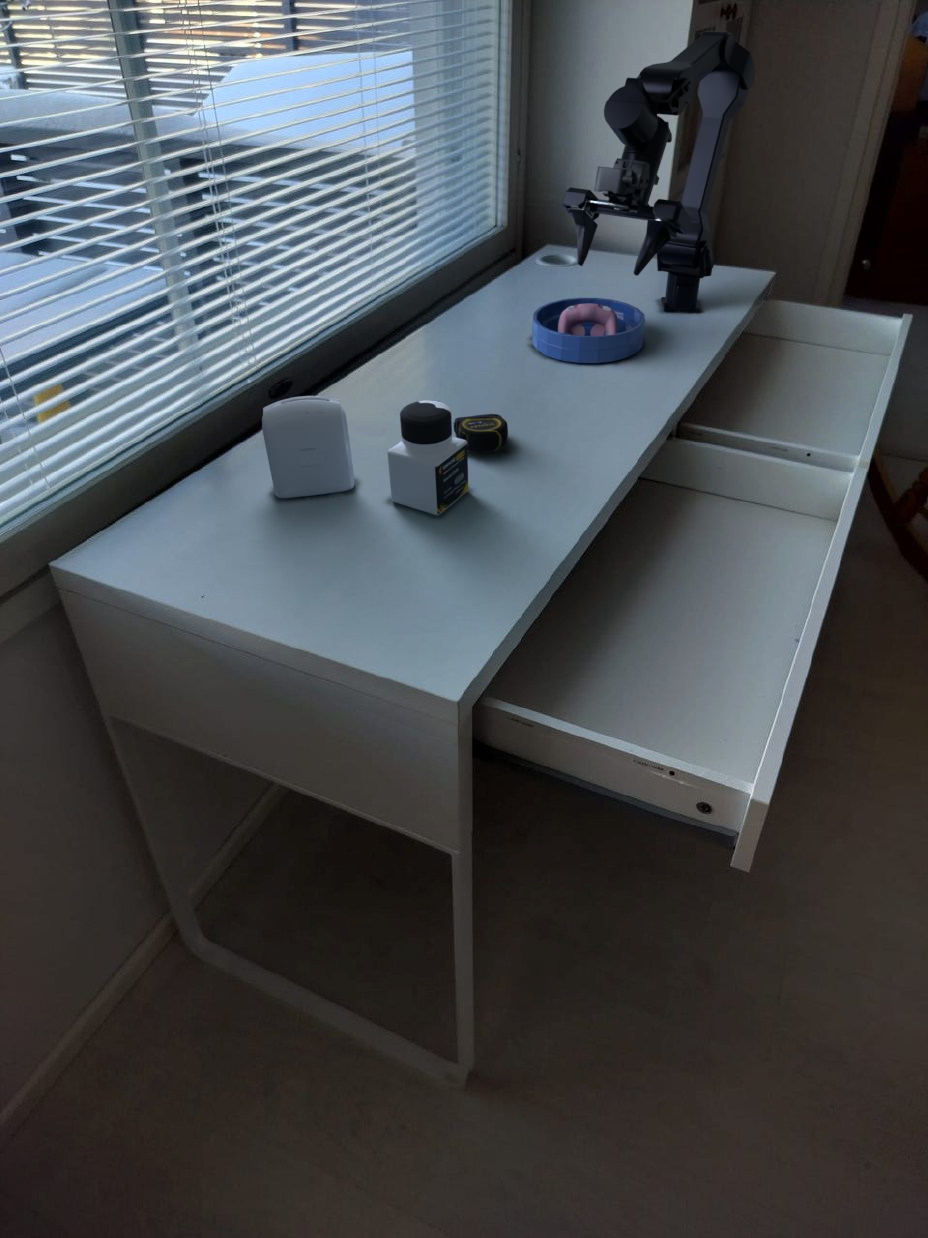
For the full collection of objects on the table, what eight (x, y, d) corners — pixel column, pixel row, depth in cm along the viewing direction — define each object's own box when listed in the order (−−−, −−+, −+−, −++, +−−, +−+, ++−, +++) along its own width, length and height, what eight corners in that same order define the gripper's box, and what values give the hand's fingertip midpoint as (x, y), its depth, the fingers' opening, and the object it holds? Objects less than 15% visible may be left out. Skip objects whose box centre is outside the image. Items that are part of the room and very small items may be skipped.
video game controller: (616, 348, 149) (618, 304, 148) (617, 345, 145) (620, 300, 144) (557, 347, 150) (558, 304, 149) (557, 345, 146) (559, 300, 144)
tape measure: (501, 433, 124) (501, 408, 121) (512, 455, 118) (513, 430, 116) (453, 438, 123) (452, 413, 121) (462, 461, 118) (461, 435, 115)
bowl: (534, 322, 156) (535, 297, 154) (638, 323, 155) (641, 297, 152) (530, 363, 142) (531, 336, 140) (645, 365, 141) (648, 337, 138)
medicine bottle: (438, 517, 107) (433, 426, 99) (390, 502, 110) (382, 412, 102) (469, 491, 112) (467, 401, 104) (422, 477, 115) (417, 389, 107)
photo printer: (274, 502, 111) (257, 410, 103) (273, 485, 114) (257, 395, 106) (356, 493, 112) (345, 401, 104) (353, 476, 115) (343, 386, 107)
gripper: (562, 130, 126) (530, 241, 129) (685, 141, 118) (648, 261, 120) (591, 163, 136) (560, 266, 139) (706, 176, 127) (671, 286, 130)
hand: (607, 269), depth 132 cm, fingers open, 9 cm apart
